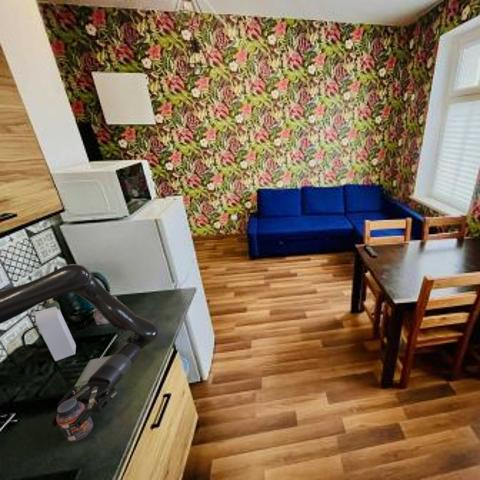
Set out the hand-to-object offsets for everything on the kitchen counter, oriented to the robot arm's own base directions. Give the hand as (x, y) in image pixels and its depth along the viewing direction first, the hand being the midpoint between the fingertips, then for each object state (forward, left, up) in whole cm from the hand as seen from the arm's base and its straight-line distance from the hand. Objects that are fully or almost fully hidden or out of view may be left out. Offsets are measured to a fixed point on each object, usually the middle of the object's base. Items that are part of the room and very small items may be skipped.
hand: (64, 424), depth 71 cm
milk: (-21, +42, -10) cm, 48 cm away
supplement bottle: (+1, +2, -7) cm, 8 cm away
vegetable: (-29, +58, -10) cm, 66 cm away
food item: (-13, +63, -10) cm, 65 cm away
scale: (-3, +27, -10) cm, 29 cm away
